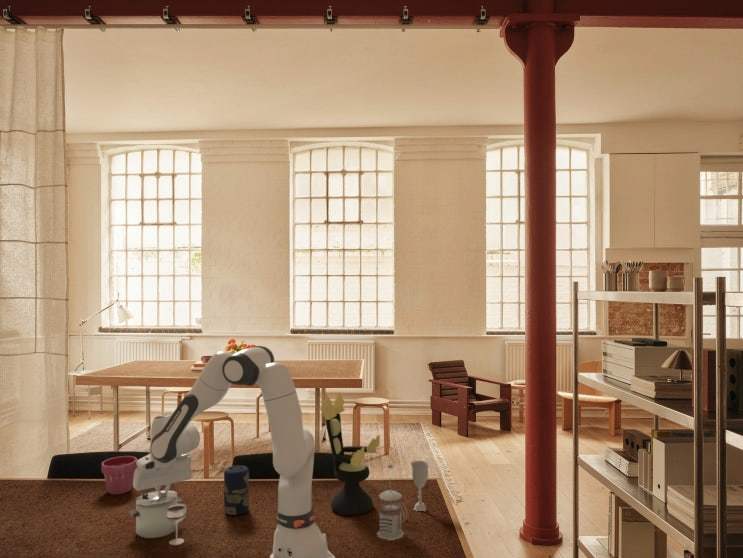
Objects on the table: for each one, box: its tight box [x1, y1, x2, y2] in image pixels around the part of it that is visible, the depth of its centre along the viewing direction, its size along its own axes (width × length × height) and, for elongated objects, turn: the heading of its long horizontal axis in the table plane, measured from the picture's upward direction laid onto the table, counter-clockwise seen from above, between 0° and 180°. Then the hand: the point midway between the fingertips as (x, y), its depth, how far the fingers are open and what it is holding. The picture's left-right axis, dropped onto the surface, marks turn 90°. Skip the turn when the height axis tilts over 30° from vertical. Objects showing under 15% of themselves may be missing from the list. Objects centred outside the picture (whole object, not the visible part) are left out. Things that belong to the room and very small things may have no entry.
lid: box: [135, 489, 178, 506], centre depth 205 cm, size 14×14×2 cm
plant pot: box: [101, 455, 138, 495], centre depth 242 cm, size 14×14×13 cm
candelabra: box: [320, 392, 381, 516], centre depth 224 cm, size 19×22×45 cm
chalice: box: [410, 460, 430, 512], centre depth 222 cm, size 7×7×18 cm
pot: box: [129, 497, 184, 539], centre depth 205 cm, size 14×18×10 cm
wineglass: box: [166, 502, 188, 546], centre depth 196 cm, size 7×7×12 cm
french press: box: [376, 463, 408, 541], centre depth 200 cm, size 10×12×25 cm
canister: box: [223, 464, 250, 516], centre depth 220 cm, size 10×10×18 cm
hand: (162, 496), depth 204 cm, fingers closed, pressing on lid
